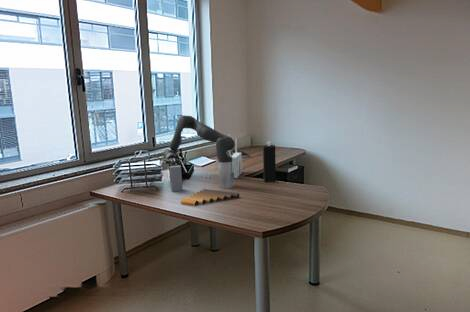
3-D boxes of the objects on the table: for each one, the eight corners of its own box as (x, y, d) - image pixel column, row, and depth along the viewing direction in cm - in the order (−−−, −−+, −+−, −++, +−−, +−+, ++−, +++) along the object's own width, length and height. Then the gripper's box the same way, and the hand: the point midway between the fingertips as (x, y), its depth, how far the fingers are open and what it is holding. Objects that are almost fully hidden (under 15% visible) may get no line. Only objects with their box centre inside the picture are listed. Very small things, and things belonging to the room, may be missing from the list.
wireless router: (251, 158, 333) (250, 137, 329) (226, 160, 328) (225, 138, 324) (242, 152, 365) (241, 133, 361) (219, 154, 360) (218, 134, 356)
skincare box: (237, 178, 259) (236, 157, 256) (229, 178, 260) (228, 157, 258) (242, 172, 280) (241, 152, 277) (235, 172, 281) (234, 152, 278)
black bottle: (263, 179, 254) (262, 140, 249) (274, 179, 255) (273, 140, 249) (264, 182, 247) (263, 142, 242) (276, 181, 247) (275, 141, 242)
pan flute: (239, 197, 216) (205, 193, 228) (239, 192, 215) (205, 188, 228) (217, 210, 195) (180, 204, 207) (217, 204, 194) (180, 199, 206)
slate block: (171, 189, 237) (169, 166, 234) (181, 188, 239) (180, 165, 236) (171, 191, 233) (170, 167, 230) (182, 190, 235) (180, 166, 232)
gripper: (162, 154, 257) (163, 159, 240) (180, 153, 260) (183, 157, 244) (162, 164, 258) (164, 169, 242) (181, 163, 262) (183, 168, 245)
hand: (173, 163), depth 243 cm, fingers closed
